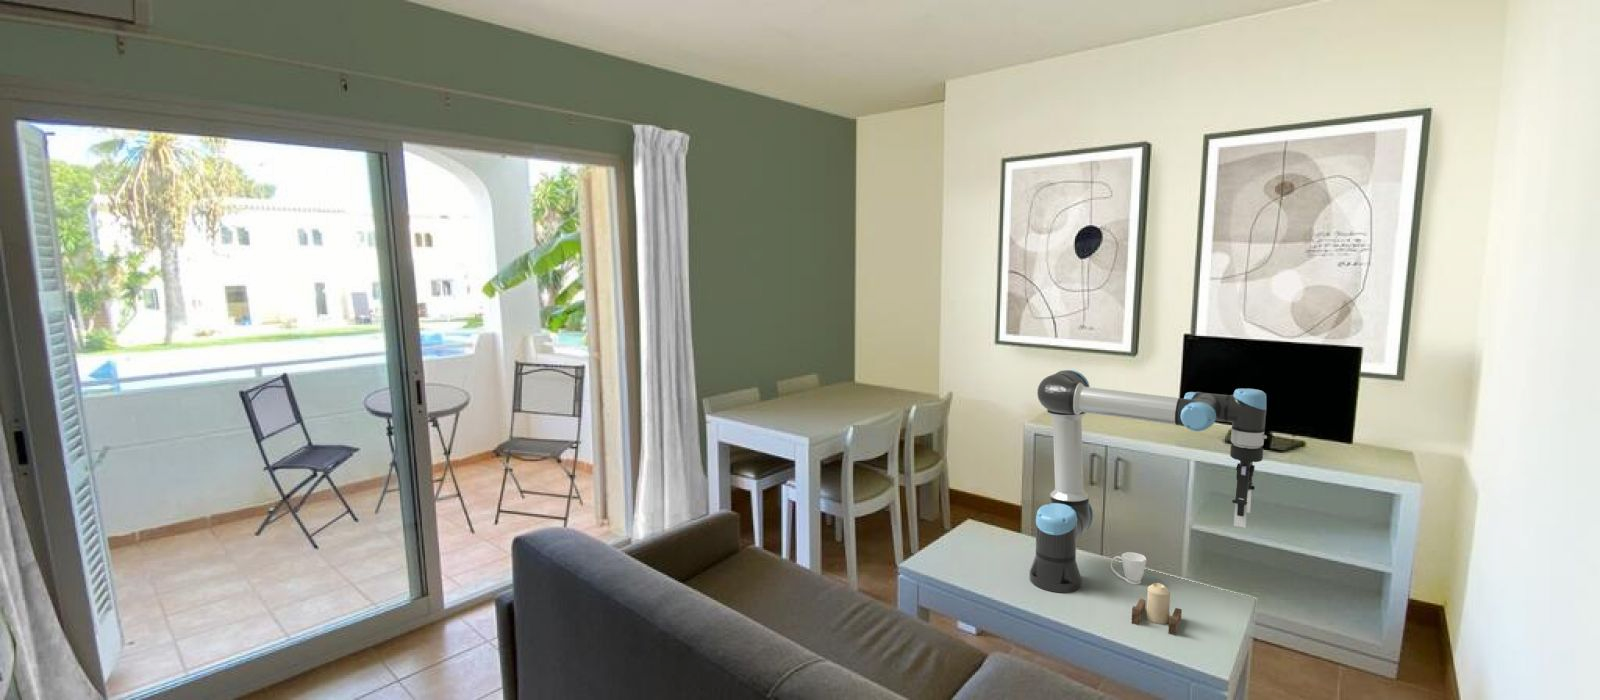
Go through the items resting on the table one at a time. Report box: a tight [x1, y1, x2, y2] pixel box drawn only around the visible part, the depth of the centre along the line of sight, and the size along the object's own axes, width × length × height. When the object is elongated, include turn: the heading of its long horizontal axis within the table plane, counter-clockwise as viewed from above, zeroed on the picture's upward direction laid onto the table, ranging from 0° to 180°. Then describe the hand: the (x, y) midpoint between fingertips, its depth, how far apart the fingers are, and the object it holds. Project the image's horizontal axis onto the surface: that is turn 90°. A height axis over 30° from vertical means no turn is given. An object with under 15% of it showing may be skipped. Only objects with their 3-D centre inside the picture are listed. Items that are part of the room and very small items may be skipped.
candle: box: [1146, 582, 1171, 625], centre depth 185 cm, size 6×6×10 cm
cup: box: [1110, 551, 1147, 585], centre depth 208 cm, size 7×10×8 cm
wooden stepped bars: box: [1131, 598, 1183, 636], centre depth 184 cm, size 10×10×4 cm
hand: (1242, 518), depth 187 cm, fingers open, 13 cm apart
